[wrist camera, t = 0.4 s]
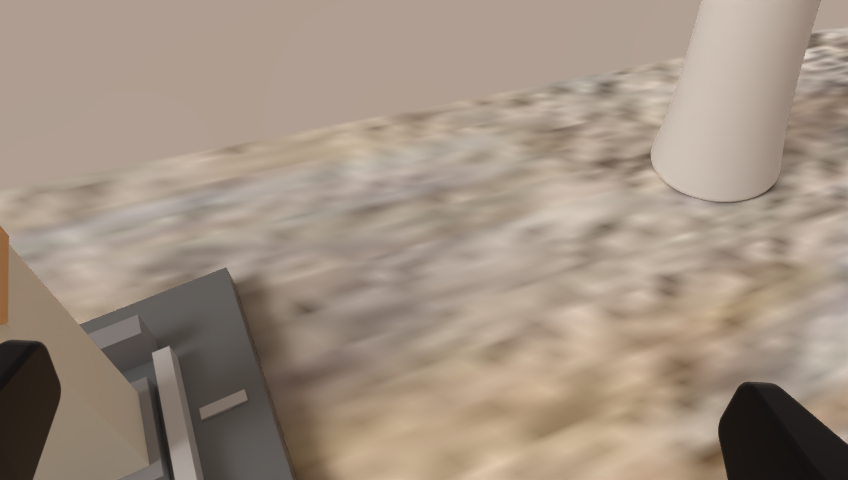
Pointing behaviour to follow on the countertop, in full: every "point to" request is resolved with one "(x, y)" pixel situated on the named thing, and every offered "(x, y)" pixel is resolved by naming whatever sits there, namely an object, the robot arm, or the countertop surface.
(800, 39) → the cosmetic bottle
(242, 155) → the countertop surface
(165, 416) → the grey slider track
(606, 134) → the countertop surface
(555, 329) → the countertop surface
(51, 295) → the fader
